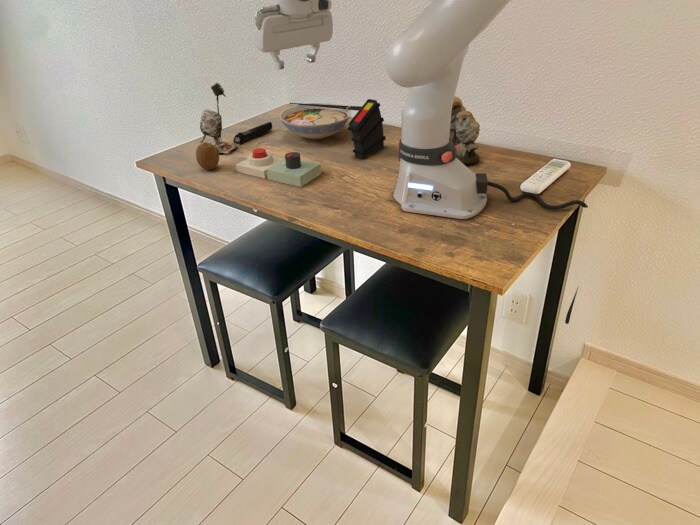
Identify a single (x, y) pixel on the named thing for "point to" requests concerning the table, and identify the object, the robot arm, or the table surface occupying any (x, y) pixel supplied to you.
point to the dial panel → (294, 173)
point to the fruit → (207, 156)
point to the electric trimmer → (252, 133)
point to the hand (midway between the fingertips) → (295, 65)
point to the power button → (259, 153)
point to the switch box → (257, 165)
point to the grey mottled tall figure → (214, 124)
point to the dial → (293, 160)
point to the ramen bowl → (316, 119)
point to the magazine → (367, 130)
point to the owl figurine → (464, 133)
